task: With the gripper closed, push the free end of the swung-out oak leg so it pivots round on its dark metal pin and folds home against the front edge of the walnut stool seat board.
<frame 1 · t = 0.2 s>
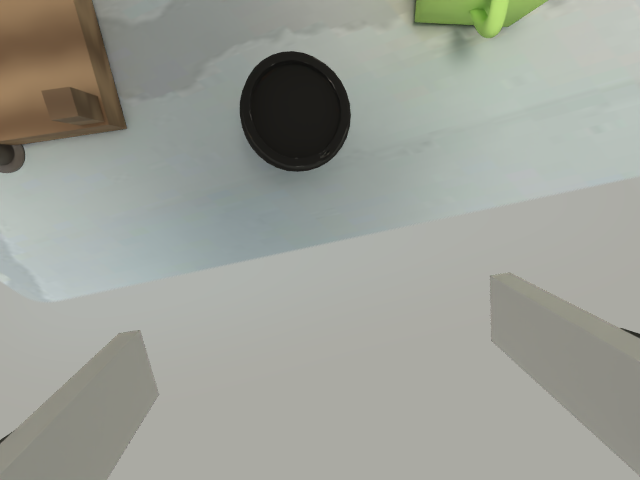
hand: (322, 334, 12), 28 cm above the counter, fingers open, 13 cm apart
coffee cup: (296, 132, 37), on the counter
stool top: (47, 57, 34), on the counter
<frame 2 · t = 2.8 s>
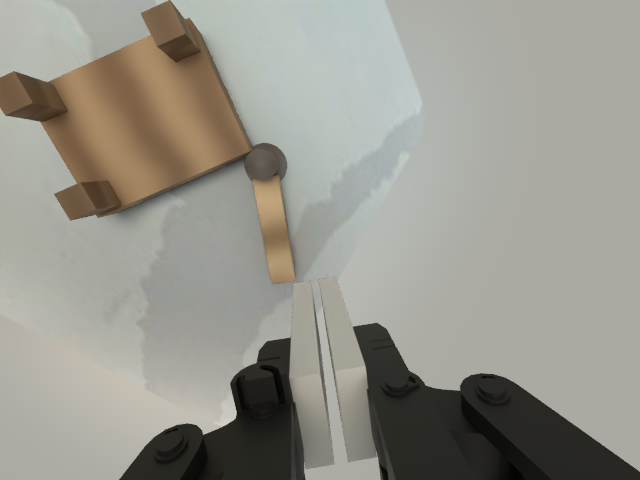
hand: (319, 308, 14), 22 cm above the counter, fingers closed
hinged leg: (272, 218, 33), point 3 cm above the counter, hinge at 75.0°
stool top: (157, 127, 33), on the counter
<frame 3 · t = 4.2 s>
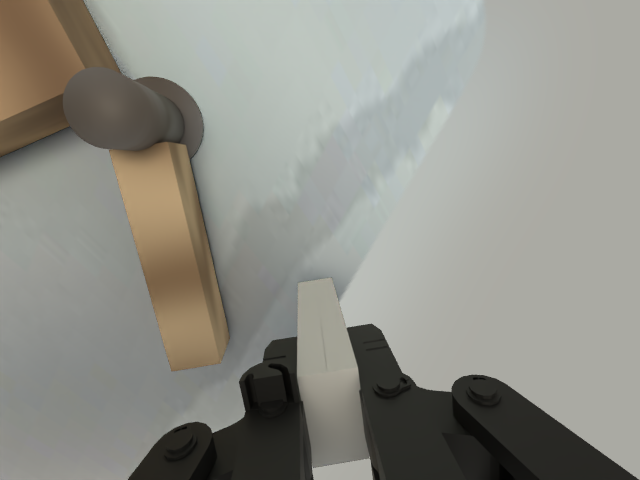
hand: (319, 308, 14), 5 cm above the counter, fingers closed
hinged leg: (164, 238, 15), point 3 cm above the counter, hinge at 75.0°
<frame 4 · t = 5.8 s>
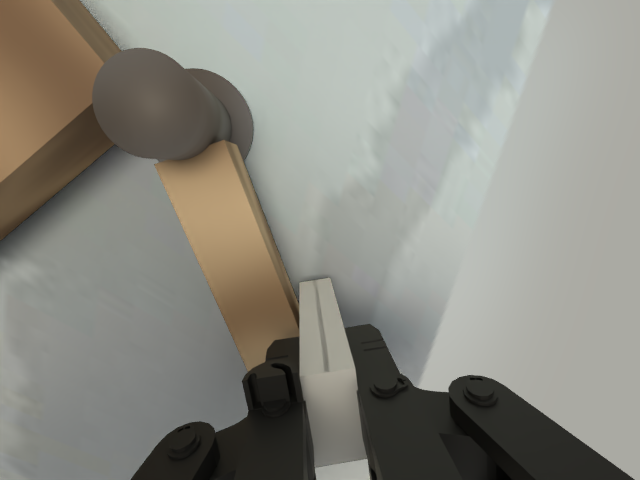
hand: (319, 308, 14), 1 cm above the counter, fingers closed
hinged leg: (237, 262, 12), point 3 cm above the counter, hinge at 71.4°, touching gripper
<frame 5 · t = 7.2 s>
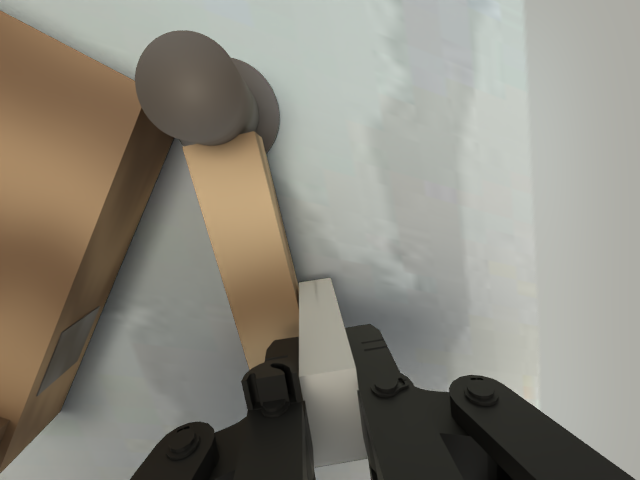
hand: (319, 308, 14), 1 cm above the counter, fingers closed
hinged leg: (251, 253, 12), point 3 cm above the counter, hinge at 39.5°, touching gripper
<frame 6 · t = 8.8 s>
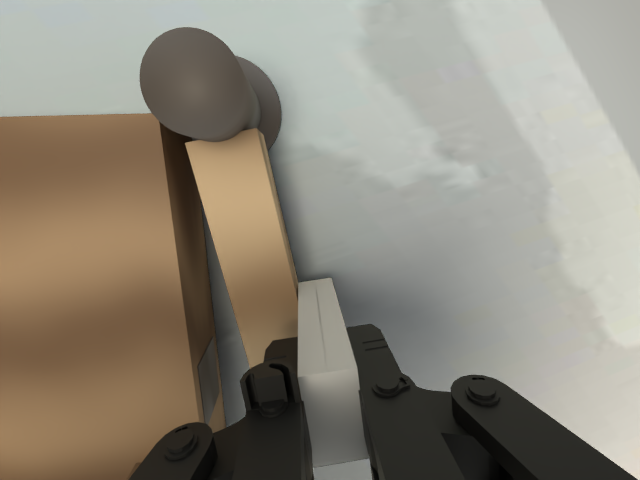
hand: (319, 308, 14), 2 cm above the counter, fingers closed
hinged leg: (252, 249, 12), point 3 cm above the counter, hinge at 9.8°, touching gripper
stool top: (81, 309, 15), on the counter
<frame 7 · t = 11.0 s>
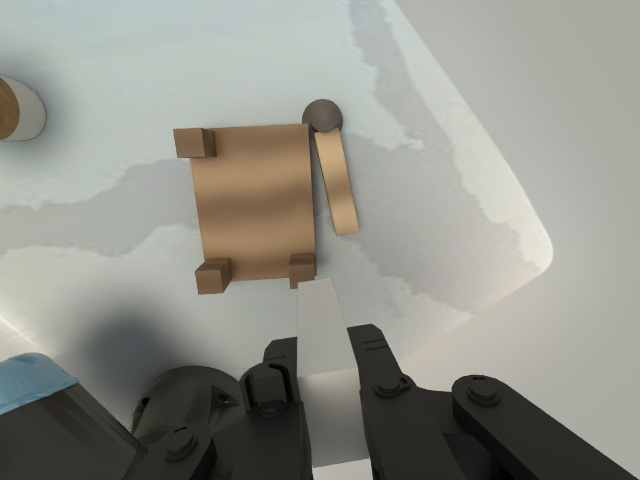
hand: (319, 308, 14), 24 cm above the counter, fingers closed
coffee cup: (18, 111, 34), on the counter
hinged leg: (334, 171, 34), point 3 cm above the counter, hinge at 9.7°
stool top: (260, 202, 37), on the counter
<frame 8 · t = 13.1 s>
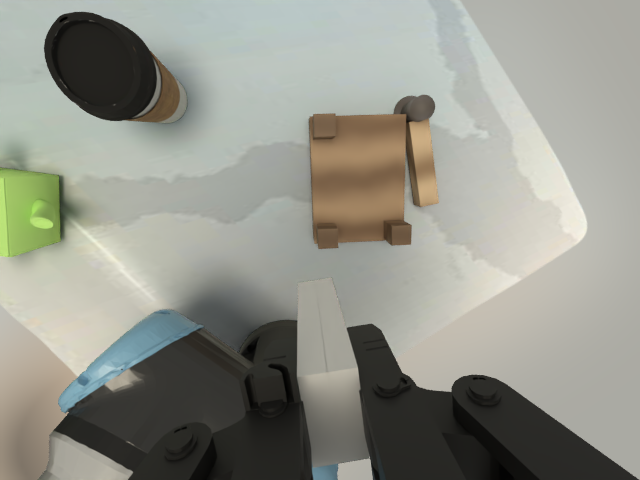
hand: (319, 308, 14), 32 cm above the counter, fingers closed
teapot: (26, 202, 44), on the counter
coffee cup: (164, 99, 42), on the counter
hinged leg: (422, 153, 43), point 3 cm above the counter, hinge at 9.7°
stool top: (354, 180, 45), on the counter
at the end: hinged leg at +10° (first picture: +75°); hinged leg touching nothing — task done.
